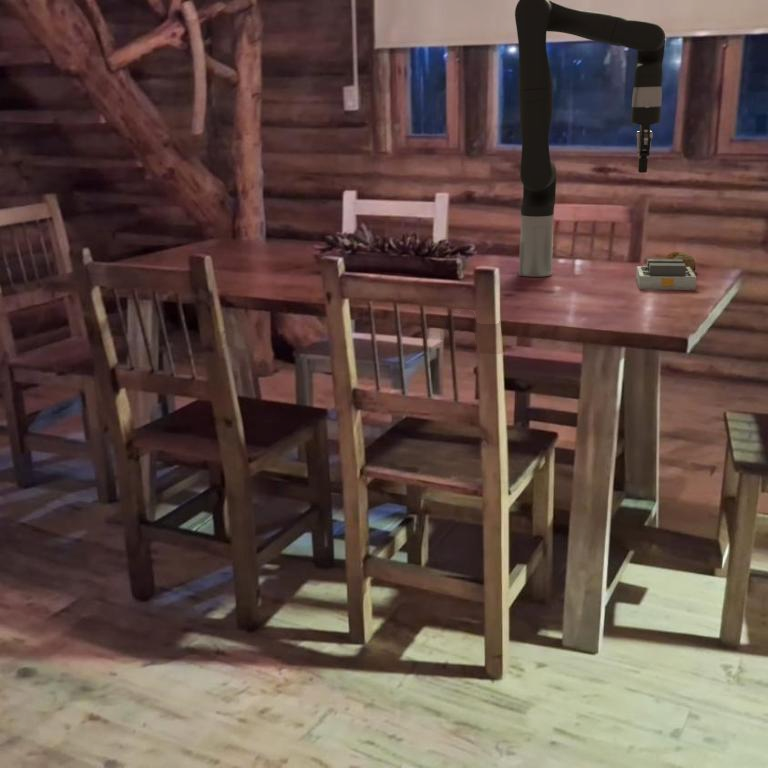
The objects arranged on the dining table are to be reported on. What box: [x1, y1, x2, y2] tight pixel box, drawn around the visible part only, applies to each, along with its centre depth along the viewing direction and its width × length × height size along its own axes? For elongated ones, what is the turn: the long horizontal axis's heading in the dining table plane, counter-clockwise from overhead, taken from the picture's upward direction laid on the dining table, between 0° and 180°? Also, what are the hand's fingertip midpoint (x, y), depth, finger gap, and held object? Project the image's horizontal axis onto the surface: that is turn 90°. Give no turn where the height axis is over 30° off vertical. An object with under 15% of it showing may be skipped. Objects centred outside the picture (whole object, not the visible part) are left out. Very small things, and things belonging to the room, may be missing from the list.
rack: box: [635, 258, 697, 291], centre depth 235 cm, size 14×16×6 cm
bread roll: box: [662, 250, 696, 275], centre depth 251 cm, size 10×10×8 cm
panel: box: [648, 263, 686, 276], centre depth 232 cm, size 9×4×5 cm, turn 77°
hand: (642, 172), depth 236 cm, fingers closed
